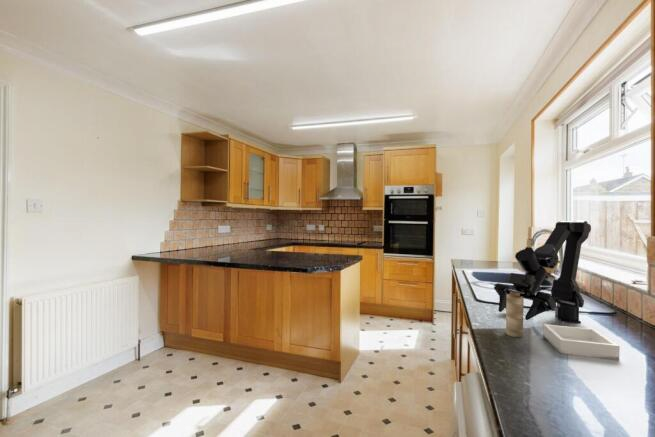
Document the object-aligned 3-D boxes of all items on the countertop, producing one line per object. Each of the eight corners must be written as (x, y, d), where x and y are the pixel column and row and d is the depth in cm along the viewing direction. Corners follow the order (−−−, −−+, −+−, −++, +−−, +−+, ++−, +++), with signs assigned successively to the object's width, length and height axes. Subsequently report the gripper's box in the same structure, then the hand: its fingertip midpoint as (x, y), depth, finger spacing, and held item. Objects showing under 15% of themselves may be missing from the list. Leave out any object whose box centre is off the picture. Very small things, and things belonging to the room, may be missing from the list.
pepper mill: (520, 332, 108) (521, 291, 108) (525, 338, 104) (525, 294, 103) (504, 331, 110) (504, 290, 110) (508, 336, 105) (508, 293, 105)
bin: (593, 341, 101) (593, 328, 101) (619, 360, 88) (619, 346, 88) (543, 335, 105) (543, 324, 105) (560, 353, 92) (560, 339, 92)
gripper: (497, 261, 117) (476, 293, 112) (552, 269, 100) (530, 307, 95) (510, 280, 120) (491, 313, 115) (565, 291, 104) (545, 329, 99)
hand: (512, 315), depth 106 cm, fingers open, 9 cm apart
